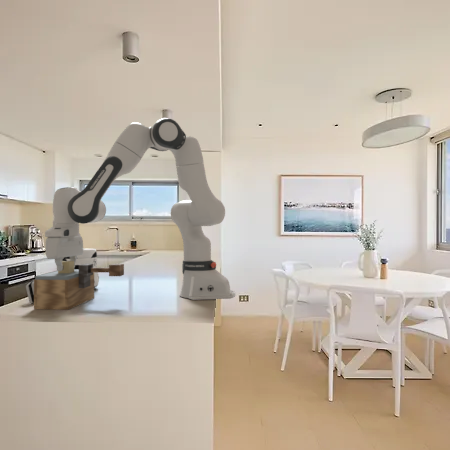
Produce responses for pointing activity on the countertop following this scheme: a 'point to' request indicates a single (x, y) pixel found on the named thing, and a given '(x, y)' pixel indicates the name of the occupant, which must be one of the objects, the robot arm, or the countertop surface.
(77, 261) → the milk container
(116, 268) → the wooden mallet
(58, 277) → the lid
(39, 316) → the countertop surface
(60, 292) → the box
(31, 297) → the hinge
